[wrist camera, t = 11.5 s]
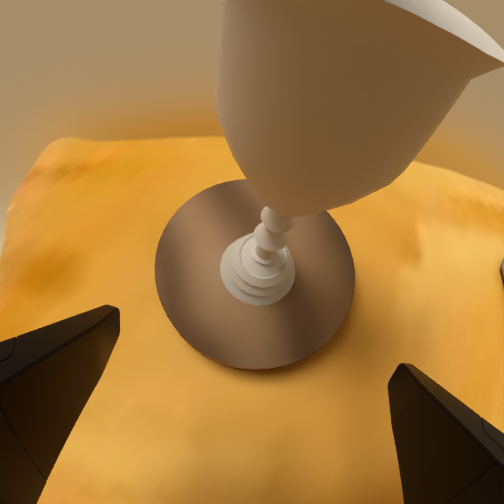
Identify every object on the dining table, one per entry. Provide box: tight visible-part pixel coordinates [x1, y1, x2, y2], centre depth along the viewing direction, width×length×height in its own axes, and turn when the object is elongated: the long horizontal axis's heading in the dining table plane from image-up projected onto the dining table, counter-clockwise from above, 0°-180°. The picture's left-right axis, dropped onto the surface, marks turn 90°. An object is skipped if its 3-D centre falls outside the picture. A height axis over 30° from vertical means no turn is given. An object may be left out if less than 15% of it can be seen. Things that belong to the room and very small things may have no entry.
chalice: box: [215, 0, 504, 306], centre depth 12 cm, size 7×7×18 cm
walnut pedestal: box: [155, 179, 355, 370], centre depth 22 cm, size 14×14×2 cm
